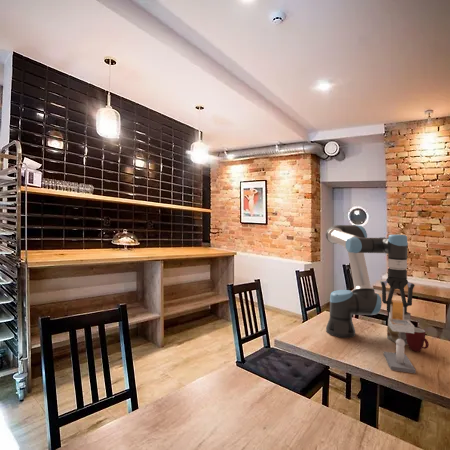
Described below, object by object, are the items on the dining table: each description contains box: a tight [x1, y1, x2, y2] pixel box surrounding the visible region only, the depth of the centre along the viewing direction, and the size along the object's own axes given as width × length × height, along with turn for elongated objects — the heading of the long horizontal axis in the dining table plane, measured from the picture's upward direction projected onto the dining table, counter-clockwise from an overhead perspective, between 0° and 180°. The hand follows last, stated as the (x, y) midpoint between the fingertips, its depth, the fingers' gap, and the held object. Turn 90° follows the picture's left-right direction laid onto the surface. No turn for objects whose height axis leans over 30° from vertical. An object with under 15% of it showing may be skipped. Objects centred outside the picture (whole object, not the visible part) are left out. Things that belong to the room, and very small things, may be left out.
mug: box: [406, 326, 430, 353], centre depth 140 cm, size 10×8×10 cm
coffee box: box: [386, 311, 411, 346], centre depth 152 cm, size 9×6×16 cm
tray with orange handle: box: [387, 299, 415, 333], centre depth 127 cm, size 14×8×10 cm, turn 162°
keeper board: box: [383, 339, 416, 374], centre depth 127 cm, size 15×9×12 cm, turn 162°
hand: (396, 319), depth 132 cm, fingers closed on tray with orange handle, 4 cm apart
